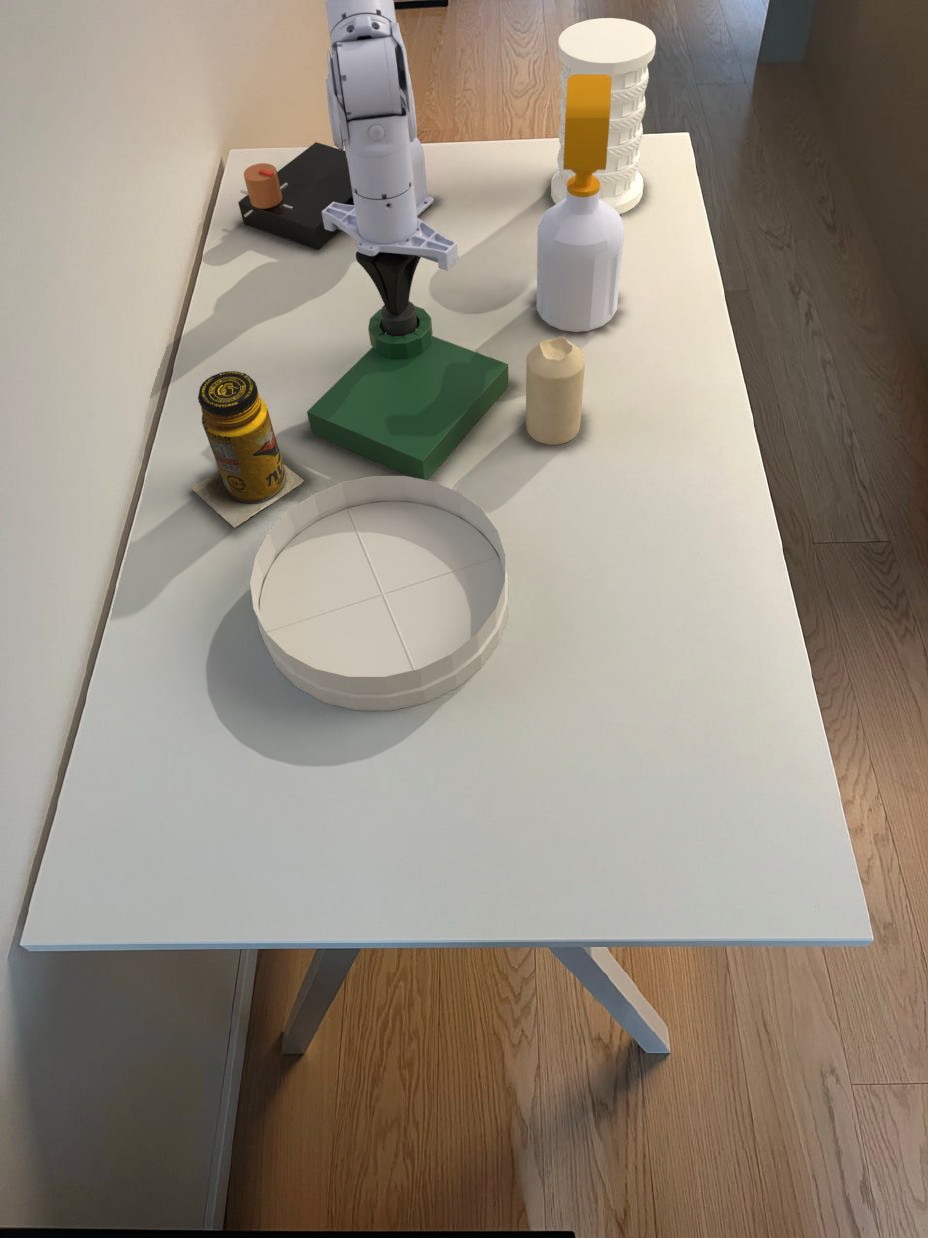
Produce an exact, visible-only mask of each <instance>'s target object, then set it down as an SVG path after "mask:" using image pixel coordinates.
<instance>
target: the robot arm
mask: <svg viewBox="0 0 928 1238" xmlns="http://www.w3.org/2000/svg"><path fill="white" fill-rule="evenodd" d="M324 1H325V10H326V18H327V26H328V33H329V41H330V50H331V51H330V50H329V49H328V50H327V53H326V54H327V55H326V61H327V71H328V72H327V78H326V80H325V86H326V100H327V109H328V115H329V122H330V123H329V124H330V129H331V135H332V141H333V145H334V146H335V148H337V149H339V150H344V151H345V152H346V158H347V161H348V168H349V174H350V181H351V187H352V194H353V200H354V205H345V204H340V203H336V202H332V203H331V204H330V205H329V206H328V207H326V208H325V209H324V210H323V211H322V217H323V222H324V228H325V229H326V230H329V231H335V230H336V229H340V230H341V231H343V232H344V233H345V234H347V235H348V236H349V237H351V238H352V239H353V240H355V241H356V250H357V251H356V253H355V258H356V262H357V263H358V264H359V265H360V266H361V267H362V268H363V270H364V271H365V272H366V273H367V274H368V276H369V277H370V279H371V280H372V282H373V284H374V286H375V288H376V289H377V291H378V294H379V295H380V298H381V300H382V302H383V304H384V305H385V307H386V309H387V311H388V312H391V313H393V314H396V315H399V314H400V313H401V312H402V311H403V310H404V309H405V308H406V307H407V306H408V303H409V301H410V295H411V288H412V283H413V279H414V276H415V272H416V269H417V267H418V265H419V262H420V260H421V258H422V259H425V260H427V261H431V262H434V263H437V264H438V268H439V269H440V270H443V271H446V272H447V271H449V270H450V269H451V268H452V267H453V266H454V265H455V264H456V263H457V262H458V261H459V251H458V248H459V247H458V242H457V241H455V240H453V239H450V238H448V237H446V236H444V235H443V234H441V233H440V232H439V231H437V229H434V228H433V227H432V226H430V225H429V224H427V223H426V222H425V221H424V220H422V219H420V218H419V216H420V215H421V214H422V213H423V212H424V211H426V209H428V208H430V206H431V205H432V204H433V203H434V202H435V201H434V197H433V196H429V195H428V183H427V171H426V160H425V159H426V158H425V151H424V147H423V144H422V143H421V141H420V140H419V139H420V138H418V137H417V136H418V126H417V116H416V106H415V98H414V92H413V86H412V80H411V73H410V71H409V62H408V55H407V49H406V47H405V44H404V40H403V36H402V34H401V29H400V24H399V22H397V17H396V10H395V9H396V8H395V1H394V0H324ZM384 305H383V306H384Z"/></svg>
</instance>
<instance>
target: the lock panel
mask: <svg viewBox="0 0 928 1238" xmlns="http://www.w3.org/2000/svg"><path fill="white" fill-rule="evenodd" d="M277 174H278V179H279V184H280V188H281V193H282V201H281V202H280V203H279V204H278V205H276V206H274V207H272V208H267V209H260V208H256V207H254V206H252V205H251V203H250V199H249V195H248V191H246V190H243V189H241V190H240V191H239V192H240V193H241V194H244V195H245V196H244V197H243V198H241V199H240V200H238V202H237V204H238V207H239V211H240V214H241V215H240V216H241V219H242V222H243V225H246V226H249V227H251V228H255V229H257V230H260V231H263V232H265V233H268V234H271V235H275V236H277V237H280V238H283V239H285V240H288V241H291V242H294V243H297V244H300V245H302V246H305V247H309V248H311V249H314V250H317V251H319V250H320V249H322V247H324V246H325V245H326V244H327V243H328V242H330V241H331V240H332V239H333V238H335V236H336V235H338V234H339V233H340V232H341V231H342V230H340V229H336V230H335V231H329V230H326V229H325V228H324V222H323V217H322V211H323V210H324V209H325V208H326V207H328V206H329V205H330V204H331V203H332V202H336V203H340V204H345V205H354V200H353V194H352V187H351V181H350V174H349V168H348V161H347V158H346V152H345V149H344V150H339V149H338V148H337V147H334V146H330V145H327V144H324V143H320V142H317V141H316V142H313V144H311V145H310V146H309V147H307V148H306V149H305V150H304V151H302V152H301V153H299V154H298V155H297V156H296V157H295V158H293V159H292V160H291V161H289V162H288V163H287V164H286V165H284V166H283V167H281V168H280V169H279V170H277Z"/></svg>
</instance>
